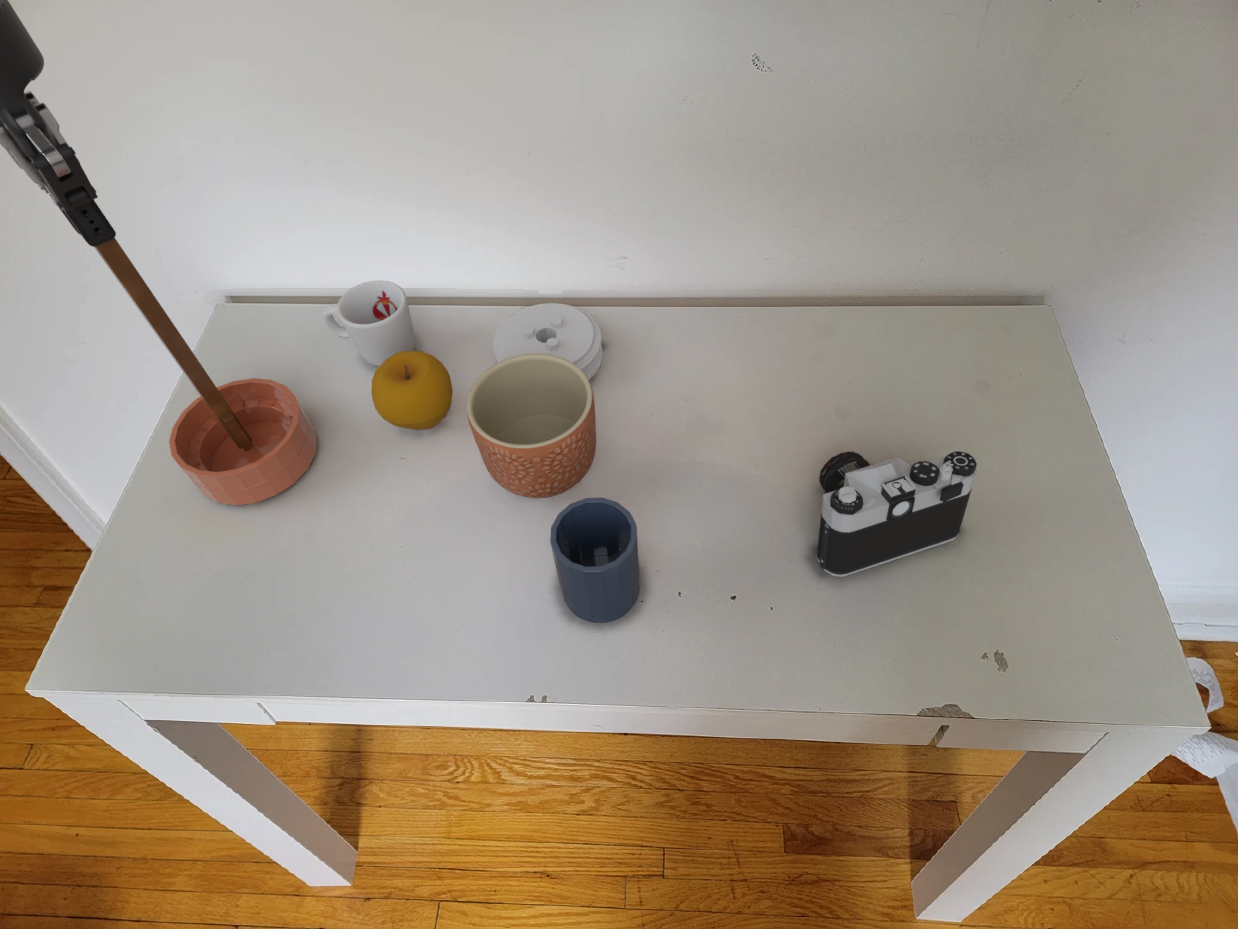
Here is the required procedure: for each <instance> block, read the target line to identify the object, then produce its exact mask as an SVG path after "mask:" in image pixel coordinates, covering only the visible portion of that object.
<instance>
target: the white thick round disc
mask: <svg viewBox="0 0 1238 929" xmlns="http://www.w3.org/2000/svg"><path fill="white" fill-rule="evenodd" d="M492 352H493V355H494V359H495V361H496V362H495V363H498V362H500V361H503V360H505V359H508V358H511V357H514V356H518V355H523V354H534V353H539V354H549V355H554V356H558V357H561V358H564V359H566V360H568V361H570V362H572V363H573V364H575V365H576V366H577V367H579V368H580V369H581V370H582V371H583V372H584V373H585V375H586V376H587V378H588V380H589V381H590V380H591V379H592V378H593V377H594V376H595V374H596V373H597V372H598V370H599V369H600V367H601V364H602V361H603V356H604V355H603V354H604V352H603V345H602V331H601V329H600V327H599V324H598V322H597V321H596V320H595V319H594V317H592V316H591V314H589V313H588V312H586V311H585V310H583V309H581V308H579V307H576V306H574V305H570V304H566V303H557V302H546V303H539V304H538V303H537V304H534V305H530V306H528V307H525V308H522V309H521V310H518V311H516V312H514V313H513V314H511V315H510V316H508V317H507V318H505V320H504V321H503V322H502V323H501V324H500V325H499V327H498V328H497V329H496V332H495V334H494V337H493V340H492Z"/></svg>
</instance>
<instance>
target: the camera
mask: <svg viewBox="0 0 1238 929" xmlns="http://www.w3.org/2000/svg"><path fill="white" fill-rule="evenodd" d="M977 465H978V463H977V461H976V459H975V457H974V456H973V455H971V454H970V453H968V452H965V451H960V450H957V451H956V450H955V451H952V452H950V453H948V454H946V455H944V456H941V457H938V458H935V459H931V460H929V461H926V460H920V461H916V462H914V463H913V464H912V465H910V464H909V463H907V461H904V460H903V459H901V458H899V457H897V456H896V457H894V458H890V459H887V460H883V461H881V462H877V463H874V464H870V463H869V461H867V459H865V458H864V456H863V455H861V453H858V452H855V451H844V452H840V453H838V454H836V455H834V456H832V457H830V459H828V461H827V462H825V464H823V466H822V468H821V469H820V472H819V478H818V480H819V484H820V487H821V488H822V489H823V491H824V493H823V494H822V500H821V508H820V509H821V510H820V522H819V531H818V540H817V549H816V560H817V562H818V563H819V567H821V568H822V570H823V571H824V572H826V573H827V574H829V575H831V576H832V577H841V578H843V577H848V576H849V575H854V574H855V573H859V572H862V571H865V570H867V569H870V568H874V567H877V566H880V565H883V564H886V563H889V562H893V561H895V560H898V559H901V558H904V557H907V556H910V555H913V554H916V553H919V552H923V551H925V550H929V549H931V548H934V547H937V546H940V545H944V544H946V543H949V542H952V541H955V539H956V538H957V537H958V536H959V535H960V531H961V527H962V523H963V521H964V517H965V513H966V510H967V506H968V503H969V500H970V496H971V493H972V491H973V487H974V483H975V480H976V477H977V474H978V469H977Z"/></svg>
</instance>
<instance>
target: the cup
mask: <svg viewBox="0 0 1238 929" xmlns="http://www.w3.org/2000/svg"><path fill="white" fill-rule="evenodd" d="M334 316H336V317H338V319H339V321H340V323H341V324H342V325H340V323H338V322H337V321H336V320H335V318H334ZM322 318H323V322H324V324H325V325H326V327H327V328H328V330H330V332H331V333H333V334H334V335H335V336H338V337H339V338H343V339H344V338H345V339H351V341H352V342H353V344H354V345H355V347H356V349H357V350H358V352H359V354H360V355H361V356H362V358H363V359H364V360H365V361H366V362H367V363H369V364H370V365H371V366H375V367H379V366H380V365H381V364H382V363H383V362H384V361H385V360H386V359H388V358H389V357H391V356H392V355H394V354H395V353H399V352H403V351H415V349H416V348H415V347H416V335H415V330H414V324H413V320H412V315H411V310H410V307H409V302H408V298H407V294H406V291H405V290H404V289H403V288H402V287H401V286H400V285H398V284H397V283H395V282H392V281H389V280H382V279H381V280H371V281H369V280H368V281H366V282H362V283H360V284H357V285H355V286H353V287H351V288H350V289H349V290H347V291H346V292H345V293H344V294H342V296H341V297H340V299H339V301H338V303H331V304H329V305H327V306H326V307H325V309H324V310H323V313H322Z"/></svg>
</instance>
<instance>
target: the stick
mask: <svg viewBox="0 0 1238 929" xmlns="http://www.w3.org/2000/svg"><path fill="white" fill-rule="evenodd" d="M93 248H94V249H95V251H96V252H97V253H98V255H99V256H100V257H101V259H102V260H103V262H104V263H105V264H106V266H107V268H108V269H109V270H110V272H111V273H112V274H113V276H114V278H115V279H116V280H117V281H118V283H119V284H120V285H121V286H122V288H123V291H125V293H126V294H127V295H128V297H129V298H130V300H131V302H133V304H134V305H135V307H136V308H137V309H138V311H139V312H140V313H141V315H142V317H143V318H144V319H145V320H146V322H147V323H148V325H149V326H150V328H151V329H152V330H153V332H154V333H155V335H156V337H158V339H159V340H160V342H161V343H162V344H163V346H164V348H165V349H166V350H167V351H168V353H169V355H170V356H171V357H172V358H173V360H174V361H175V363H176V364H177V365H178V367H179V368H180V370H181V371H182V372H183V374H184V375H185V377H186V378H187V379H188V381H189V382H190V383H191V385H192V387H193V388H194V390H195V391H196V392H197V394H198V395H199V397H200V396H201V398H202V399H203V400H204V402H205V403H206V405H207V406H208V407H209V409H210V410H211V412H212V413H213V414H214V416H215V417H216V419H217V420H218V421H219V423H220V424H221V426H222V427H223V428H224V430H225V431H226V433H227V434H228V435H229V437H230V438H231V440H232V441H233V442H234V443H235V444H236V446H237V447H238V448H239V449H241V448H243V449H244V450H245V451H248V450H249V449H251V448H252V447H254V446H253V444H252V443H251V442H252V439H251V437H250V436H249V434H248V433H247V431H246V430H245V429H244V427H243V426H242V424H241V423H240V421H239V420H238V418H237V417H236V415H235V414H234V412H233V411H232V409H231V408H230V406H229V405H228V404H227V402H226V401H225V399H224V398H223V396H222V395H221V393H220V392H219V390H218V389H217V387H218V386H216V384H215V383H214V381H213V380H212V379H211V377H210V376H209V374H208V372H207V371H206V370H205V368H204V367H203V365H202V363H201V362H200V361H199V359H198V358H197V357H196V355H195V353H194V352H193V350H192V349H191V347H190V346H189V344H188V343H187V341H186V340H185V339H184V337H183V336H182V335H181V332H180V331H179V330H178V329H177V327H176V325H175V324H174V323H173V321H172V320H171V318H170V317H169V315H168V313H167V312H166V310H165V308H163V306H162V305H161V304H160V302H159V300H158V298H156V296H155V295H154V293H153V292H152V290H151V289H150V287H149V286H148V284H147V283H146V281H145V280H144V278H143V276H142V275H141V274H140V272H139V271H138V270H137V268H136V267H135V265H134V264H133V262H132V261H131V259H130V258H129V256H128V254H126V252H125V251H124V249H123V247H122V246H121V245H120V243H119V242H118V240H117V239H116V236H115V237H114V238H113V239H111V240H109V241H107V242H105V243H103V244H101V245H99V246H96V247H93Z"/></svg>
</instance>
